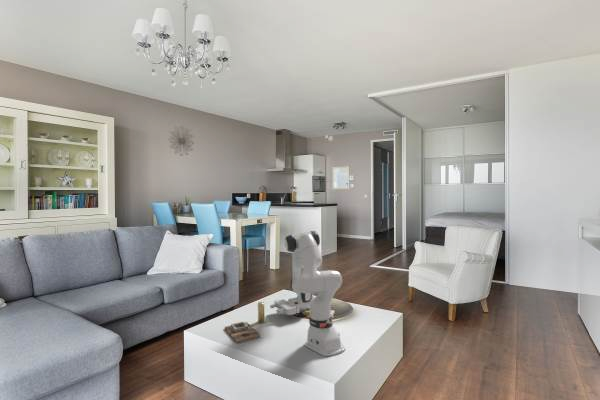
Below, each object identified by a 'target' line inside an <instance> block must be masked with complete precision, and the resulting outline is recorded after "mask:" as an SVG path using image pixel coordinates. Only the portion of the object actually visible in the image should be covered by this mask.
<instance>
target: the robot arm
mask: <svg viewBox="0 0 600 400" xmlns="http://www.w3.org/2000/svg"><path fill="white" fill-rule="evenodd" d="M320 240H321V239H320V235H319V234H318V232H317V231H316V230H315V231H314V230H311V231H303V232H296V233H293V234H288V235H287V236H285V238H284V247H285V249H286V251H288V252H289V253H291V257H292V258H291V260H292V261H291V280H290V285H289V287H290V290H291V291H292V292H294V294H296V297H291V298H288V300H286V299H277V300H274V301H273V304H270V305H269V308H270V309H274V308H277V309H276V313H277V314H279V313H280V314H285V315H287V316H291V315H297V314H296V313H299V314H300V311H301V310H300V309H305V310H307V309H306V308H309V318H308V321H309V322H308V323H309V327H308V329H307V336H306V342H305V345H304V346H305V347H306V348H308V349H310V350H311V351H314V352H316V353H317V354H319V355H321V356H324V357H331V356H336V355H338V354H342V353H343V352H344V351H346V347H345V345H344V344H343V343H342V342H341V337H340V334H341V333H340V332H337V330H336V328H335V327H334V321H333V320H332V316H331V307H332V302H333V298H334V295H335V294H336V292H337V290H339V289H340V288H341V286H342V284H343V278H342V277H343V276H342V275H341V273H340V272H339V271H338V270H332V269H328V270H321V271H318V269H317V268H319V267H320V266H321V265H322V264H323V257H322V254H321V252H320V249H319V246H320V244H321V241H320ZM302 269H303V270H302ZM316 293H317V294H316ZM314 294H316V296H314Z"/></svg>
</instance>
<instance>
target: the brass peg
mask: <svg viewBox="0 0 600 400" xmlns="http://www.w3.org/2000/svg"><path fill="white" fill-rule="evenodd" d="M257 322H258V324H264V323H265V302H262V301H260V302H257Z"/></svg>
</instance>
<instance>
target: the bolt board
mask: <svg viewBox="0 0 600 400" xmlns="http://www.w3.org/2000/svg"><path fill="white" fill-rule="evenodd" d="M224 330H225V331H226V333H227V334H228V335H229V337H231V339H232V340H233V341H234V342H235V343H236V344H241V343H244V342H245V343H246V342H248V341H252V340H256V339H260V338H261V334H260V333H259V332H258V331H257V330H256V329H255V328H254V327H253V326H252V325H250V324H249V323H248V322H247V321H240V322H235V323H231V324H230V325H227V326H226V325H225V326H224Z"/></svg>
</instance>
